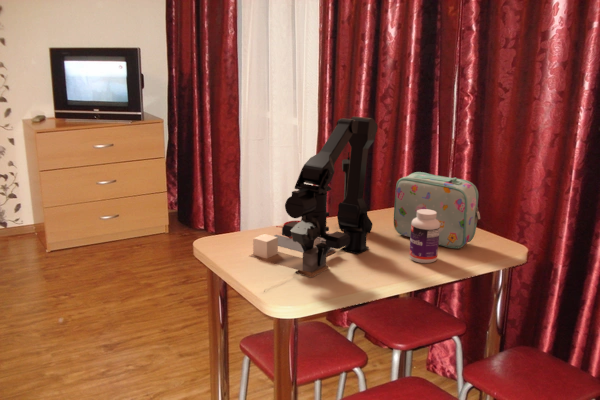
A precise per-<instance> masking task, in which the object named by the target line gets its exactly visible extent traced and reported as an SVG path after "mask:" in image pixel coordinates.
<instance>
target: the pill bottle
mask: <svg viewBox="0 0 600 400" xmlns="http://www.w3.org/2000/svg"><path fill="white" fill-rule="evenodd" d="M436 215H437V212H436V211H434V210H429V209H420V210H417V217H416V218H414V219H413V220H412V223H411V236H410V237H409V238H410V239H409V250H408V251H409V252H408V253H409V254H408V257H409V258H410V259H411V260H412V261H414V262H416V263H420V264H430V263H433V262H435V261H437V259H438V255H439V245H438V243H439V231H440V223H439V221H438V220H437V219H435V218H436Z"/></svg>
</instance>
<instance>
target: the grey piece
mask: <svg viewBox="0 0 600 400" xmlns="http://www.w3.org/2000/svg"><path fill="white" fill-rule="evenodd" d="M326 233H327V234H332V233H333V232H330V231H326ZM273 236H275V237H278V247H280V248H284V249H288V250H291V251H296V252H299V253H303V252H304V251H303V248H302V246H301V244H299V243H298V242H294V241H293V239H292V238H290V237H286V236H283V235H280V234H274V235H273ZM320 236H321V235H320ZM319 243H320V239H317V238H316V239H315V240H314V246H313V248H314V247H316V245H317V244H319ZM335 250H336V249H335V248H330V249H329V251H328V253H327V254H328V255H326V258H328V257H329V256H331V255H333V254H335V253H336V251H335ZM331 252H332V253H331Z"/></svg>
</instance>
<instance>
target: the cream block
mask: <svg viewBox="0 0 600 400" xmlns="http://www.w3.org/2000/svg"><path fill="white" fill-rule="evenodd" d="M252 241H253V242H252V246H253V247H252V254H253V255H256V256H259V257H263V258H266V259H267V258H269V257H272V256H274V255H276V254H278V252H279V251H278V248H279V246H278V237H275V236H274V235H270V234H265V233H263V234H260V235H258V236H256V237H253V238H252Z"/></svg>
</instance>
